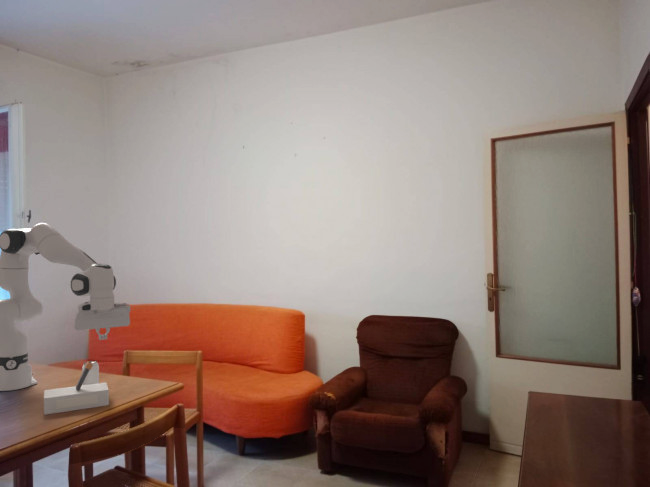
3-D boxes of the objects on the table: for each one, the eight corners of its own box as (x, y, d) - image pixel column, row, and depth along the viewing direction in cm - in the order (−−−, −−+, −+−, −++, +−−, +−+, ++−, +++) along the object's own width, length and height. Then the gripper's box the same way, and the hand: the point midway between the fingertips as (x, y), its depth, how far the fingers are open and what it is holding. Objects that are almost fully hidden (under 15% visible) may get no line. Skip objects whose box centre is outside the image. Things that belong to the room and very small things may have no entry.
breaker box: (44, 405, 192) (44, 390, 192) (106, 396, 203) (106, 382, 203) (44, 415, 182) (43, 398, 182) (109, 405, 192) (108, 389, 192)
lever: (74, 387, 194) (87, 361, 196) (79, 388, 195) (92, 362, 197) (74, 389, 190) (87, 363, 193) (79, 391, 191) (93, 364, 193)
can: (102, 388, 215) (101, 361, 215) (93, 393, 208) (93, 364, 208) (87, 388, 215) (87, 360, 215) (79, 392, 209) (78, 364, 209)
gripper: (129, 302, 204) (129, 335, 204) (73, 305, 195) (74, 340, 195) (131, 303, 199) (131, 337, 199) (74, 307, 189) (74, 343, 189)
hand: (103, 339), depth 197 cm, fingers closed
